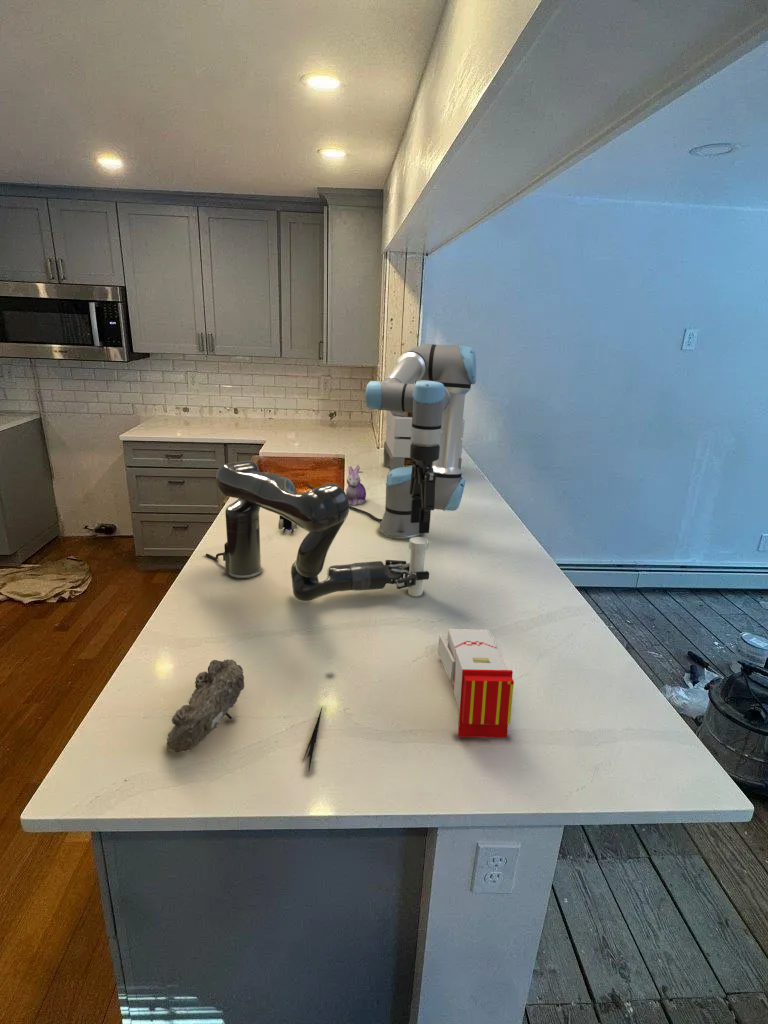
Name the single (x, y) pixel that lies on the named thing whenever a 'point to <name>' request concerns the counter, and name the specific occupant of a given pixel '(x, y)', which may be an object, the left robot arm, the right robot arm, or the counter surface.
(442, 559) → the counter surface
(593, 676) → the counter surface
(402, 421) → the white slatted crate
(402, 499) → the right robot arm
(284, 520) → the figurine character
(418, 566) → the white long cylinder
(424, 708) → the counter surface
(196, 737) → the fossil
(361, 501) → the figurine
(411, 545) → the lid
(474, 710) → the toy
